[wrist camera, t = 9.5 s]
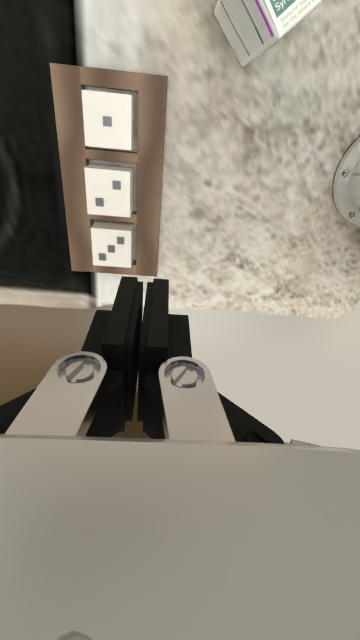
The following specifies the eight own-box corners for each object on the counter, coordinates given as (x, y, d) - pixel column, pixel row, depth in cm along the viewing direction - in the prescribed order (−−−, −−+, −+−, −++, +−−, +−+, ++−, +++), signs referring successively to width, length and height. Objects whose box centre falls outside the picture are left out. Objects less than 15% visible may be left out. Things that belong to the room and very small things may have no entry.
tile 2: (132, 167, 37) (130, 172, 35) (132, 210, 40) (129, 217, 37) (90, 163, 37) (83, 167, 34) (92, 207, 40) (87, 214, 37)
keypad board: (167, 77, 34) (167, 76, 33) (157, 272, 47) (156, 276, 45) (54, 64, 33) (49, 62, 32) (74, 266, 46) (71, 270, 45)
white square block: (133, 224, 42) (130, 231, 39) (133, 259, 45) (130, 268, 42) (95, 221, 42) (90, 228, 39) (97, 256, 44) (92, 265, 42)
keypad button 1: (134, 96, 34) (131, 94, 32) (133, 148, 37) (131, 150, 35) (87, 91, 34) (80, 89, 31) (90, 143, 37) (84, 146, 34)
